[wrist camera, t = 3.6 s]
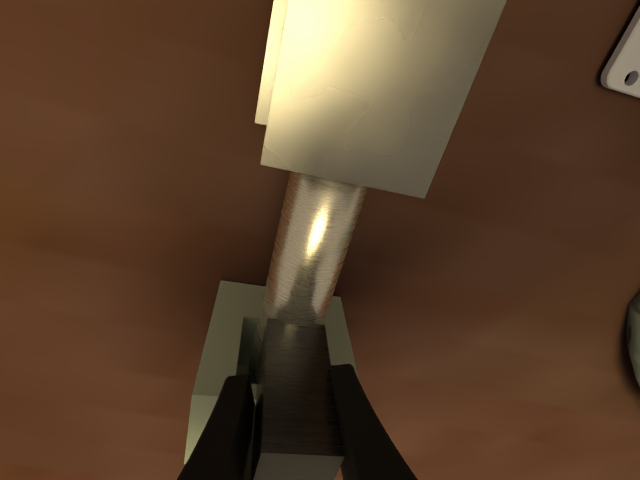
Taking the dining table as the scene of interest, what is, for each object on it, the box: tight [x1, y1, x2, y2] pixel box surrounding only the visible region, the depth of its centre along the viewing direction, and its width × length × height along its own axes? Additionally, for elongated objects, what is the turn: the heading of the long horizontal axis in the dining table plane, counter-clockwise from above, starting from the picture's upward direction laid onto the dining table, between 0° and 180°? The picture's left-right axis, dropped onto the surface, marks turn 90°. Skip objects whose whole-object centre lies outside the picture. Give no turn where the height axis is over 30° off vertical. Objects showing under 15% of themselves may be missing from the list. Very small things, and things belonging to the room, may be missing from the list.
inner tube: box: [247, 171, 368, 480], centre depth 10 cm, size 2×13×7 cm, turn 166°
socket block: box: [184, 280, 360, 464], centre depth 16 cm, size 6×4×6 cm, turn 76°
